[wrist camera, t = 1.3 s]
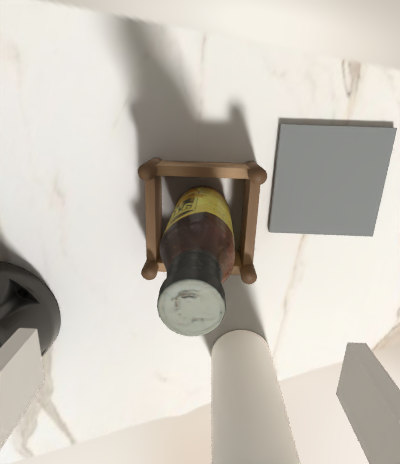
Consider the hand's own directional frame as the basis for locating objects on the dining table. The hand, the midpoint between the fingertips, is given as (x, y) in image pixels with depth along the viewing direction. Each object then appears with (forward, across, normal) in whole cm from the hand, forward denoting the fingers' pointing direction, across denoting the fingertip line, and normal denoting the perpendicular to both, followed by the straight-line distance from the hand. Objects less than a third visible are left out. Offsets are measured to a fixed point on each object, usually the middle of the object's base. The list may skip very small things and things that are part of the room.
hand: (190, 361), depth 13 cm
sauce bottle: (+25, 0, 0) cm, 25 cm away
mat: (+24, +14, +4) cm, 28 cm away
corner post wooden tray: (+24, 0, 0) cm, 24 cm away
